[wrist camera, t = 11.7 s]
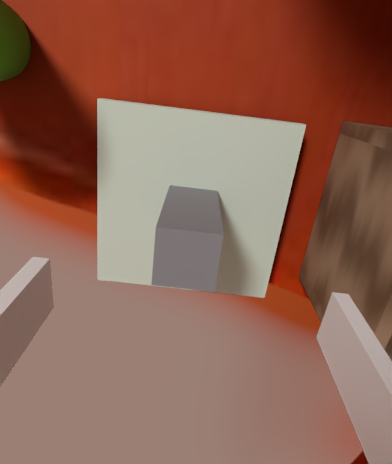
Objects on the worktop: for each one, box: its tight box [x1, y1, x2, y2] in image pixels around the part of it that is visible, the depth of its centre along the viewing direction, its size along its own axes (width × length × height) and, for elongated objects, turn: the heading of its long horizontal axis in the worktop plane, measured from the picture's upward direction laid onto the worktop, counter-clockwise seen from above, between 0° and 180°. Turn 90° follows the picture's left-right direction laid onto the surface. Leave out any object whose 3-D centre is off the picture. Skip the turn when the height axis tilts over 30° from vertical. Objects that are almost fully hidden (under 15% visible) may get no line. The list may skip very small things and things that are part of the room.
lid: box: [97, 98, 306, 298], centre depth 25 cm, size 16×16×11 cm
